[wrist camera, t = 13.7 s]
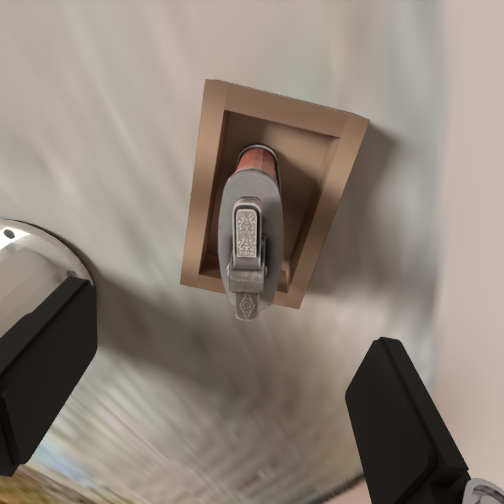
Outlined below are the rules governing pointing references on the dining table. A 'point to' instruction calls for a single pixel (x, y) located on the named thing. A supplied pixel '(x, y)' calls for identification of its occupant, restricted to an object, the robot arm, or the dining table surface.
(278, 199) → the lighter
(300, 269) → the lighter dock
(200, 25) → the dining table surface
